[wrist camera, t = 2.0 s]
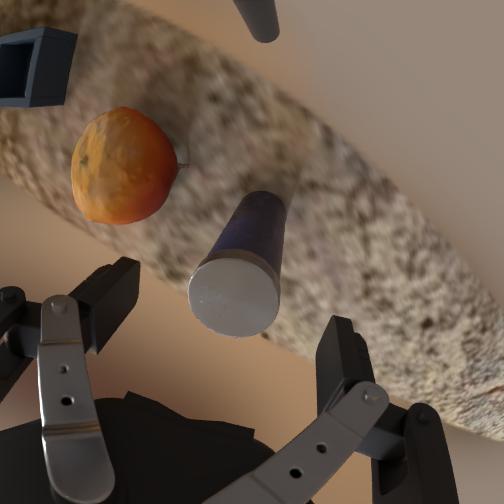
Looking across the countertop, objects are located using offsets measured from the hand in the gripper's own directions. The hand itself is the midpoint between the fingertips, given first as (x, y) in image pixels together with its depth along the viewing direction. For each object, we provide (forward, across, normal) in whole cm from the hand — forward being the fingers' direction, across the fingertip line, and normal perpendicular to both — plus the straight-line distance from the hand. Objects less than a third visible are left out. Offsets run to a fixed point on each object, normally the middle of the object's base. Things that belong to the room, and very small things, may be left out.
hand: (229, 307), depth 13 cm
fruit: (+12, +10, -2) cm, 16 cm away
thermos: (+12, 0, 0) cm, 12 cm away
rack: (+12, +28, -9) cm, 32 cm away
